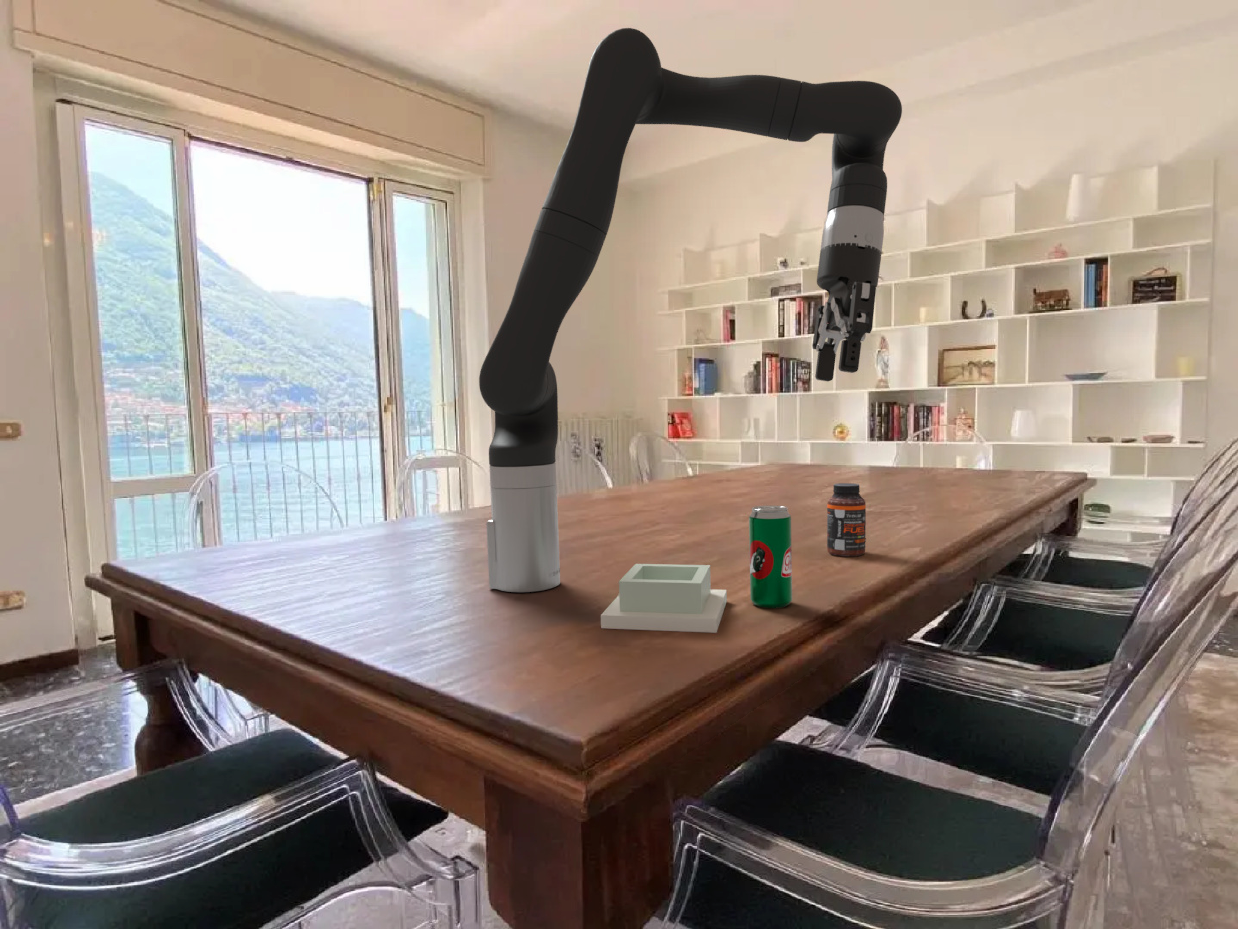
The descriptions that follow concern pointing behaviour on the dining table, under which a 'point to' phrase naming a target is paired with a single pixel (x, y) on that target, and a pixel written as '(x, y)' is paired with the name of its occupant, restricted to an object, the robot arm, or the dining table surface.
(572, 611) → the dining table surface
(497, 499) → the robot arm
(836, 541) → the supplement bottle
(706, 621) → the socket holder
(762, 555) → the soda can
